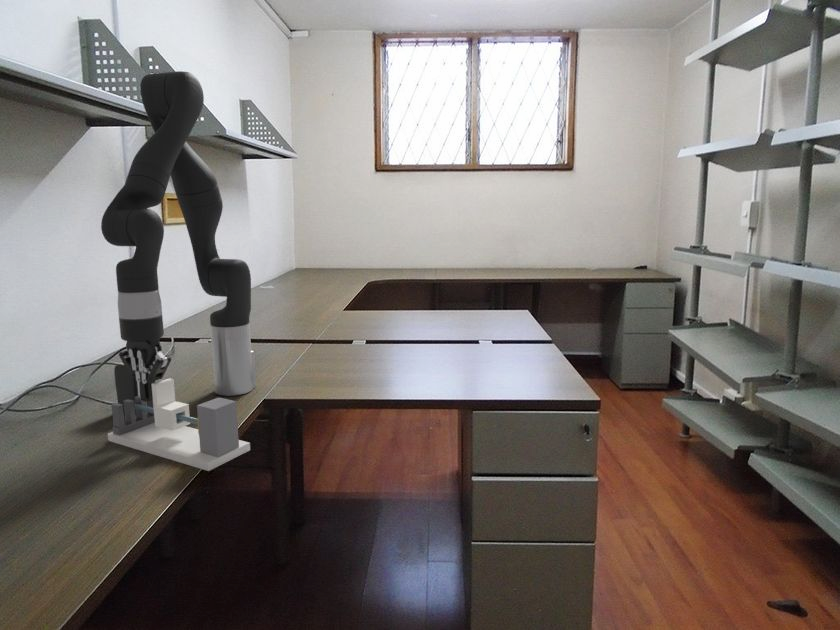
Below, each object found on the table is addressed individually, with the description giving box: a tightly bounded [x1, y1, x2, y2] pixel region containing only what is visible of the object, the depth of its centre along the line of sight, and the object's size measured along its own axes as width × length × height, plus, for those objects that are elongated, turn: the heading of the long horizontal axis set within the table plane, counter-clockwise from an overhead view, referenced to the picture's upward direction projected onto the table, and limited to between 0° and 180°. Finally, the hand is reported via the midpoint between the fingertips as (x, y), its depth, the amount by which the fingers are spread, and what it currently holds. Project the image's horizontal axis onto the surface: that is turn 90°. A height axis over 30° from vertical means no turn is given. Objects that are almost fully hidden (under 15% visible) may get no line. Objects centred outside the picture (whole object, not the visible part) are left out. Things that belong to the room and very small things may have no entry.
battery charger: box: [113, 362, 141, 414], centre depth 127 cm, size 7×4×11 cm, turn 63°
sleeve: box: [151, 378, 191, 431], centre depth 109 cm, size 4×5×8 cm
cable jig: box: [107, 396, 251, 472], centre depth 109 cm, size 10×28×10 cm, turn 62°
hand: (148, 400), depth 112 cm, fingers closed
